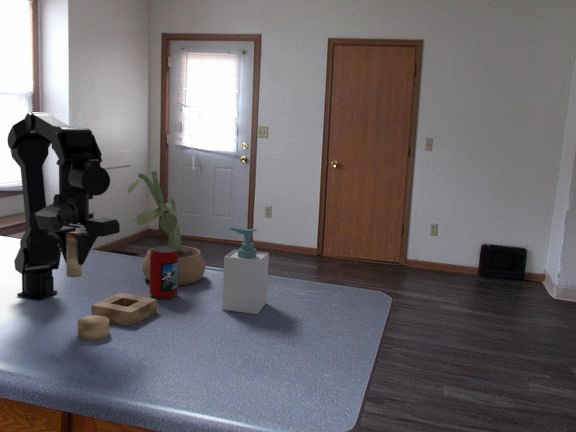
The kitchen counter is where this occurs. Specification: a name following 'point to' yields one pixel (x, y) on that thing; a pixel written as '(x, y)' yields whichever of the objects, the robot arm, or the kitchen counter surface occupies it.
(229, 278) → the soap bottle
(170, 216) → the potted plant
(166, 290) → the beverage can
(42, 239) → the robot arm
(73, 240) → the wooden dowel
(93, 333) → the tan rounded disc
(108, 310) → the square wooden frame
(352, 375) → the kitchen counter surface
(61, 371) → the kitchen counter surface
